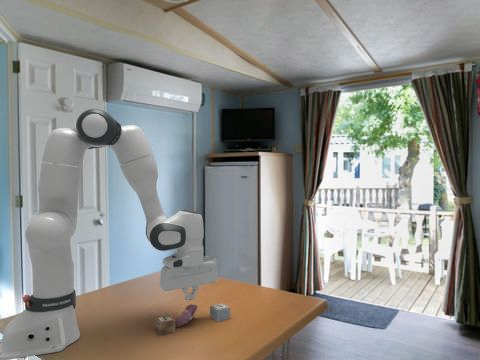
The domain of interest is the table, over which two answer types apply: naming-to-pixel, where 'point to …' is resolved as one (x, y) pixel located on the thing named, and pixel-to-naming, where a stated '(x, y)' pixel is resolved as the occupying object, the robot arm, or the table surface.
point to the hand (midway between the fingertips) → (190, 299)
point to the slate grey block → (220, 312)
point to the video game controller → (186, 315)
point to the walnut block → (164, 325)
